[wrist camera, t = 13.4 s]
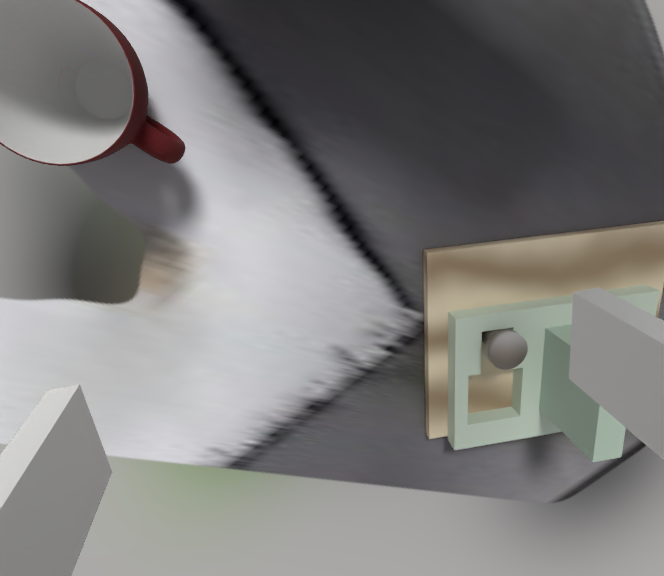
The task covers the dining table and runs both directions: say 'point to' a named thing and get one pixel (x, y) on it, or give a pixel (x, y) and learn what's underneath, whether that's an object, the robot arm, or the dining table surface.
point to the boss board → (521, 297)
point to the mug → (73, 87)
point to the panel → (532, 377)
